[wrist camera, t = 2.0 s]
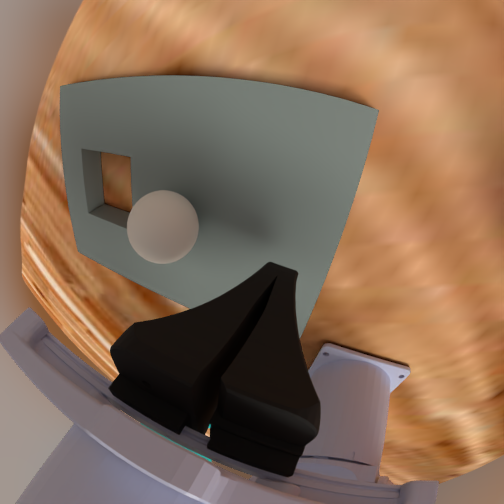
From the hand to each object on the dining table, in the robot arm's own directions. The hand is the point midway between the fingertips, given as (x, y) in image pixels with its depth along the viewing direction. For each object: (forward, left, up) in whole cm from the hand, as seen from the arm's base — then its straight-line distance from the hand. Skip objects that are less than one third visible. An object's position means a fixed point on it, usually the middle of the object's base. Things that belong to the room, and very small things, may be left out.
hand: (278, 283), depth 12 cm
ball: (0, +7, -1) cm, 7 cm away
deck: (0, +9, -5) cm, 10 cm away
